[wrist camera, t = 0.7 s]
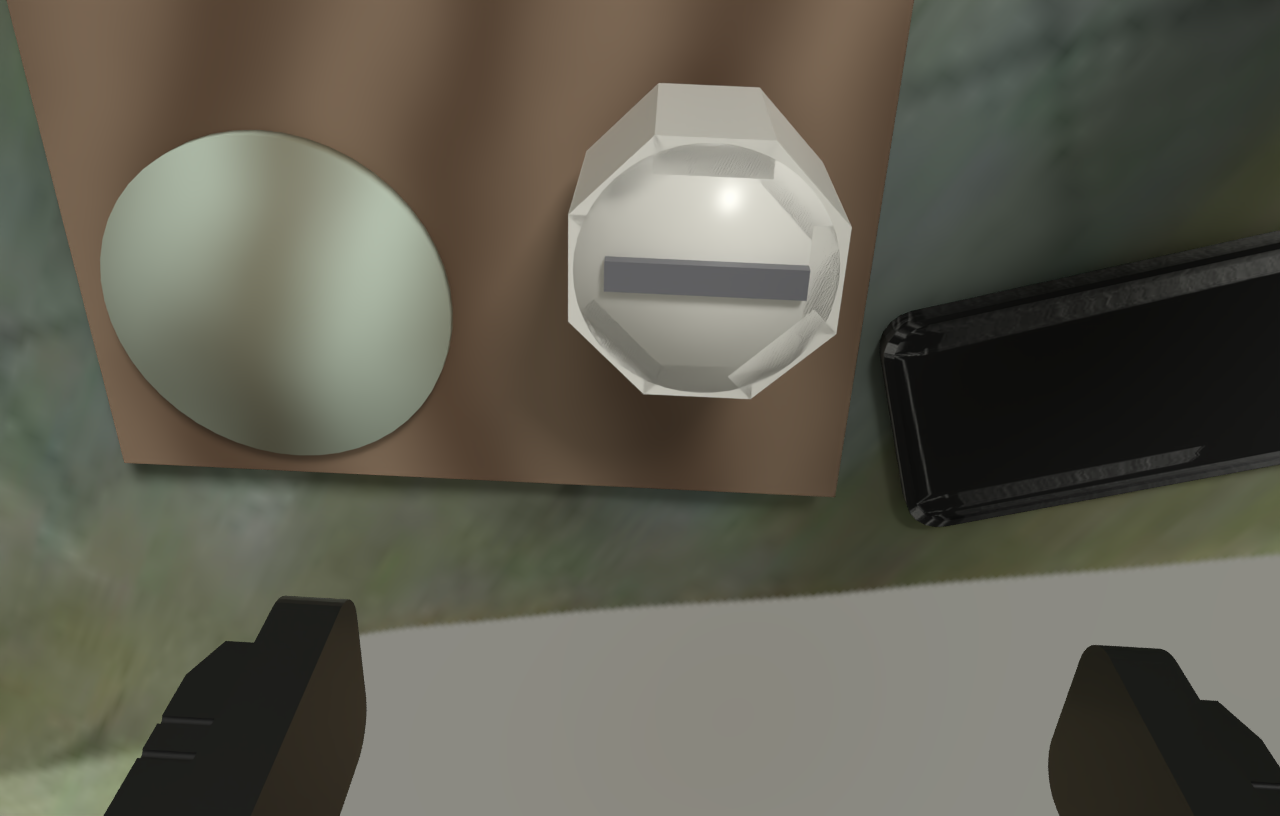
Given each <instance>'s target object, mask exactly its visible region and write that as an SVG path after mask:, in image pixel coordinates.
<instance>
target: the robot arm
mask: <svg viewBox="0 0 1280 816" xmlns="http://www.w3.org/2000/svg"><path fill="white" fill-rule="evenodd" d="M365 725H366V693H365V685H364V676H363V667H362V657H361V648H360V639H359V630H358V622H357V614H356V609H355V605H354V603H353V602H352V601H351V600H348V599H331V598H313V597H296V596H282V597H280V598H279V599H278V600H277V601H276V603H275V604H274V606H273V608H272V610H271V612H270V613H269V615H268V617H267V619H266V621H265V623H264V625H263V627H262V629H261V631H260V633H259V634H258V636H257V638H256V640H255V642H254V643H250V642H233V641H225V642H224V643H223V644H222V645H221V646H219V647H218V648H217V649H216V650H215V651H213V652H212V653H211V654H210V655H209V656H208V657H206V658H205V659H204V660H203V661H202V662H200V663H199V664H198V665H197V666H196V667H195V668H193V669H192V670H191V671H190V672H189V673H188V674H186V676H185V677H184V679H183V681H182V682H181V684H180V686H179V688H178V689H177V691H176V693H175V694H174V696H173V698H172V700H171V701H170V703H169V705H168V706H167V708H166V710H165V712H164V713H163V715H162V722H161V724H157V725H156V727H155V729H154V730H153V732H152V734H151V735H150V737H149V739H148V741H147V742H146V744H145V746H144V747H143V749H142V750H143V752H142V756H141V758H137V759H136V761H135V763H134V765H133V766H132V768H131V770H130V771H129V773H128V775H127V777H126V778H125V780H124V782H123V783H122V785H121V787H120V789H119V790H118V792H117V794H116V795H115V797H114V799H113V801H112V802H111V804H110V806H109V807H108V809H107V811H106V812H105V814H104V816H340V813H341V810H342V807H343V804H344V801H345V798H346V796H347V793H348V790H349V787H350V784H351V781H352V778H353V775H354V772H355V769H356V766H357V763H358V760H359V757H360V753H361V749H362V745H363V739H364V733H365ZM1048 761H1049V762H1048V771H1049V782H1050V788H1051V792H1052V796H1053V800H1054V803H1055V805H1056V808H1057V811H1058V813H1059V816H1280V767H1279V765H1278V764H1277V762H1276V761H1275V759H1274V758H1273V756H1272V755H1271V753H1270V752H1269V750H1268V749H1267V747H1266V746H1265V744H1264V742H1263V741H1262V740H1261V739H1260V738H1259V737H1258V736H1257V735H1256V734H1255V733H1253V732H1252V731H1251V730H1250V729H1249V728H1248V727H1247V726H1245V725H1244V724H1243V723H1242V722H1241V721H1240V720H1239V719H1237V718H1236V717H1235V716H1234V715H1233V714H1232V713H1230V712H1229V711H1228V710H1227V709H1226V708H1225V707H1224V706H1223V705H1222V704H1220V703H1219V702H1218V701H1209V700H1200V699H1199V698H1198V696H1197V694H1196V693H1195V691H1194V689H1193V688H1192V686H1191V684H1190V683H1189V681H1188V680H1187V678H1186V676H1185V675H1184V673H1183V672H1182V670H1181V668H1180V667H1179V665H1178V663H1177V662H1176V660H1175V659H1174V658H1173V656H1172V655H1171V654H1170V653H1168V652H1167V651H1165V650H1162V649H1153V648H1136V647H1120V646H1103V645H1091V646H1090V647H1088V648H1087V649H1086V650H1085V651H1084V653H1083V654H1082V656H1081V659H1080V661H1079V664H1078V667H1077V670H1076V672H1075V675H1074V678H1073V681H1072V684H1071V687H1070V689H1069V692H1068V695H1067V698H1066V701H1065V704H1064V706H1063V709H1062V712H1061V715H1060V718H1059V721H1058V723H1057V726H1056V729H1055V732H1054V735H1053V738H1052V741H1051V745H1050V750H1049V759H1048Z"/></svg>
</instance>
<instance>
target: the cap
mask: <svg viewBox="0 0 1280 816" xmlns="http://www.w3.org/2000/svg"><path fill="white" fill-rule="evenodd" d="M851 230H852V227H851V224H850V222H849V220H848V218H847V215H846V213H845V211H844V209H843V206H842V204H841V202H840V200H839V197H838V195H837V193H836V191H835V188H834V186H833V184H832V182H831V179H830V177H829V175H828V173H827V171H826V168H825V166H824V164H823V162H822V161H821V159H820V158H819V157H818V156H817V155H816V153H815V152H814V151H813V150H812V149H811V148H810V146H809V145H808V144H807V143H806V142H805V140H804V139H803V138H802V137H801V136H800V135H799V133H798V132H797V131H796V130H795V129H794V127H793V126H792V125H791V124H790V123H789V122H788V120H787V119H786V118H785V117H784V116H783V114H782V113H781V112H780V111H779V110H778V109H777V107H776V106H775V105H774V104H773V103H772V101H771V100H770V99H769V98H768V97H767V96H766V94H765V93H764V92H763V91H762V90H761V88H760V87H738V86H716V85H693V84H671V83H658V84H657V85H656V86H655V87H654V88H653V89H652V90H651V91H650V92H649V93H648V94H647V95H645V96H644V97H643V98H642V99H641V100H640V101H639V102H638V103H637V104H636V105H635V106H634V107H633V108H632V109H631V110H630V111H628V112H627V113H626V114H625V115H624V116H623V117H622V118H621V119H620V120H619V121H618V122H617V123H616V124H615V125H614V126H613V127H611V128H610V129H609V130H608V131H607V132H606V133H605V134H604V135H603V136H602V137H601V138H600V139H599V140H598V141H597V142H596V143H594V144H593V145H592V146H591V147H590V148H589V149H588V150H587V151H586V154H585V158H584V161H583V165H582V168H581V172H580V175H579V179H578V182H577V186H576V189H575V193H574V196H573V199H572V203H571V206H570V210H569V213H568V322H569V323H570V324H571V325H572V326H573V327H574V328H575V329H576V330H577V331H578V332H579V333H580V334H582V335H583V336H584V337H585V338H586V339H587V340H588V341H589V342H590V343H591V344H592V345H593V346H594V347H595V348H596V349H597V350H598V351H599V352H600V353H601V354H602V355H603V356H604V357H605V358H606V359H608V360H609V361H610V362H611V363H612V364H613V365H614V366H615V367H616V368H617V369H618V370H619V371H620V372H621V373H622V374H623V375H624V376H625V377H626V378H627V379H628V380H629V381H630V382H631V383H633V384H634V385H635V386H636V387H637V388H638V389H639V390H640V391H641V392H642V393H643V394H652V395H673V396H694V397H715V398H736V399H751V398H753V397H754V396H755V395H757V394H758V393H759V392H761V391H762V390H763V389H765V388H766V387H767V386H768V385H770V384H771V383H772V382H774V381H775V380H776V379H778V378H779V377H780V376H782V375H783V374H784V373H786V372H787V371H788V370H790V369H791V368H792V367H794V366H795V365H796V364H797V363H799V362H800V361H801V360H803V359H804V358H805V357H807V356H808V355H809V354H811V353H812V352H813V351H815V350H816V349H817V348H819V347H820V346H821V345H823V344H824V343H825V342H827V341H828V340H829V339H830V338H832V337H833V336H834V335H836V333H837V326H838V319H839V312H840V305H841V298H842V291H843V285H844V278H845V271H846V264H847V257H848V250H849V243H850V237H851Z"/></svg>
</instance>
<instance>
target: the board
mask: <svg viewBox="0 0 1280 816" xmlns="http://www.w3.org/2000/svg"><path fill="white" fill-rule="evenodd" d="M913 3H914V0H7V4H8V8H9V12H10V15H11V19H12V23H13V27H14V31H15V35H16V39H17V43H18V47H19V51H20V55H21V59H22V63H23V66H24V70H25V74H26V78H27V82H28V86H29V90H30V94H31V98H32V102H33V106H34V110H35V114H36V117H37V121H38V125H39V129H40V133H41V137H42V141H43V145H44V149H45V153H46V157H47V161H48V165H49V168H50V172H51V176H52V180H53V184H54V188H55V192H56V196H57V200H58V204H59V208H60V212H61V216H62V220H63V223H64V227H65V231H66V235H67V239H68V243H69V247H70V251H71V255H72V259H73V263H74V267H75V271H76V274H77V278H78V282H79V286H80V290H81V294H82V298H83V302H84V306H85V310H86V314H87V318H88V322H89V325H90V329H91V333H92V337H93V341H94V345H95V349H96V353H97V357H98V361H99V365H100V369H101V373H102V377H103V380H104V384H105V388H106V392H107V396H108V400H109V404H110V408H111V412H112V416H113V420H114V424H115V428H116V431H117V435H118V439H119V443H120V447H121V451H122V455H123V459H124V463H140V464H160V465H181V466H202V467H222V468H243V469H264V470H284V471H305V472H326V473H346V474H367V475H388V476H408V477H429V478H450V479H470V480H491V481H512V482H532V483H553V484H574V485H594V486H615V487H636V488H656V489H677V490H698V491H718V492H739V493H760V494H780V495H801V496H822V497H835V494H836V487H837V481H838V475H839V468H840V462H841V456H842V450H843V443H844V437H845V431H846V424H847V418H848V412H849V406H850V399H851V393H852V387H853V380H854V374H855V368H856V361H857V355H858V349H859V343H860V336H861V330H862V324H863V317H864V311H865V305H866V299H867V292H868V286H869V280H870V273H871V267H872V261H873V255H874V248H875V242H876V236H877V229H878V223H879V217H880V211H881V204H882V198H883V192H884V185H885V179H886V173H887V167H888V160H889V154H890V148H891V141H892V135H893V129H894V123H895V116H896V110H897V104H898V97H899V91H900V85H901V78H902V72H903V66H904V60H905V53H906V47H907V41H908V34H909V28H910V22H911V16H912V9H913ZM658 83H671V84H693V85H716V86H738V87H760V88H761V90H762V91H763V92H764V93H765V94H766V96H767V97H768V98H769V99H770V100H771V101H772V103H773V104H774V105H775V106H776V107H777V109H778V110H779V111H780V112H781V113H782V114H783V116H784V117H785V118H786V119H787V120H788V122H789V123H790V124H791V125H792V126H793V127H794V129H795V130H796V131H797V132H798V133H799V135H800V136H801V137H802V138H803V139H804V140H805V142H806V143H807V144H808V145H809V146H810V148H811V149H812V150H813V151H814V152H815V153H816V155H817V156H818V157H819V158H820V159H821V161H822V162H823V164H824V166H825V168H826V171H827V173H828V175H829V177H830V179H831V182H832V184H833V186H834V188H835V191H836V193H837V195H838V197H839V200H840V202H841V204H842V206H843V209H844V211H845V213H846V215H847V218H848V220H849V222H850V224H851V227H852V230H851V237H850V243H849V250H848V257H847V264H846V271H845V278H844V285H843V291H842V298H841V305H840V312H839V319H838V326H837V333H836V335H834V336H833V337H832V338H830V339H829V340H828V341H827V342H825V343H824V344H823V345H821V346H820V347H819V348H817V349H816V350H815V351H813V352H812V353H811V354H809V355H808V356H807V357H805V358H804V359H803V360H801V361H800V362H799V363H797V364H796V365H795V366H794V367H792V368H791V369H790V370H788V371H787V372H786V373H784V374H783V375H782V376H780V377H779V378H778V379H776V380H775V381H774V382H772V383H771V384H770V385H768V386H767V387H766V388H765V389H763V390H762V391H761V392H759V393H758V394H757V395H755V396H754V397H753V398H751V399H736V398H715V397H694V396H673V395H652V394H643V393H642V392H641V391H640V390H639V389H638V388H637V387H636V386H635V385H634V384H633V383H631V382H630V381H629V380H628V379H627V378H626V377H625V376H624V375H623V374H622V373H621V372H620V371H619V370H618V369H617V368H616V367H615V366H614V365H613V364H612V363H611V362H610V361H609V360H608V359H606V358H605V357H604V356H603V355H602V354H601V353H600V352H599V351H598V350H597V349H596V348H595V347H594V346H593V345H592V344H591V343H590V342H589V341H588V340H587V339H586V338H585V337H584V336H583V335H582V334H580V333H579V332H578V331H577V330H576V329H575V328H574V327H573V326H572V325H571V324H570V323H569V322H568V213H569V210H570V206H571V203H572V199H573V196H574V193H575V189H576V186H577V182H578V179H579V175H580V172H581V168H582V165H583V161H584V158H585V154H586V151H587V150H588V149H589V148H590V147H591V146H592V145H593V144H594V143H596V142H597V141H598V140H599V139H600V138H601V137H602V136H603V135H604V134H605V133H606V132H607V131H608V130H609V129H610V128H611V127H613V126H614V125H615V124H616V123H617V122H618V121H619V120H620V119H621V118H622V117H623V116H624V115H625V114H626V113H627V112H628V111H630V110H631V109H632V108H633V107H634V106H635V105H636V104H637V103H638V102H639V101H640V100H641V99H642V98H643V97H644V96H645V95H647V94H648V93H649V92H650V91H651V90H652V89H653V88H654V87H655V86H656V85H657V84H658Z"/></svg>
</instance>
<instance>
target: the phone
mask: <svg viewBox="0 0 1280 816" xmlns="http://www.w3.org/2000/svg"><path fill="white" fill-rule="evenodd" d="M880 358H881V364H882V370H883V376H884V382H885V388H886V394H887V400H888V406H889V413H890V419H891V425H892V431H893V437H894V443H895V449H896V455H897V461H898V467H899V473H900V479H901V485H902V492H903V495H904V498H905V501H906V504H907V507H908V509H909V512H910V514H911V515H912V516H913V517H914V518H915V519H916V520H917V521H919V522H921V523H923V524H924V525H929V526H934V527H941V526H950V525H955V524H961V523H966V522H972V521H977V520H982V519H988V518H993V517H998V516H1004V515H1009V514H1015V513H1020V512H1025V511H1031V510H1036V509H1041V508H1047V507H1052V506H1058V505H1063V504H1068V503H1074V502H1079V501H1084V500H1090V499H1095V498H1101V497H1106V496H1111V495H1117V494H1122V493H1128V492H1133V491H1138V490H1144V489H1149V488H1155V487H1160V486H1165V485H1171V484H1176V483H1182V482H1187V481H1192V480H1198V479H1203V478H1209V477H1214V476H1219V475H1225V474H1230V473H1236V472H1241V471H1246V470H1252V469H1257V468H1263V467H1268V466H1273V465H1279V464H1280V230H1279V231H1274V232H1270V233H1265V234H1261V235H1256V236H1252V237H1247V238H1242V239H1238V240H1233V241H1229V242H1224V243H1220V244H1215V245H1211V246H1206V247H1201V248H1197V249H1192V250H1188V251H1183V252H1179V253H1174V254H1170V255H1165V256H1160V257H1156V258H1151V259H1147V260H1142V261H1138V262H1133V263H1129V264H1124V265H1119V266H1115V267H1110V268H1106V269H1101V270H1097V271H1092V272H1088V273H1083V274H1078V275H1074V276H1069V277H1065V278H1060V279H1056V280H1051V281H1046V282H1042V283H1037V284H1033V285H1028V286H1024V287H1019V288H1015V289H1010V290H1005V291H1001V292H996V293H992V294H987V295H983V296H978V297H974V298H969V299H964V300H960V301H955V302H951V303H946V304H942V305H937V306H933V307H928V308H923V309H919V310H914V311H911V312H908V313H905V314H903V315H900V316H899V317H898V318H896V319H895V320H893V321H892V322H891V323H890V324H889V325H888V327H887V328H886V329H885V330H884V332H883V334H882V337H881V340H880Z"/></svg>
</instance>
